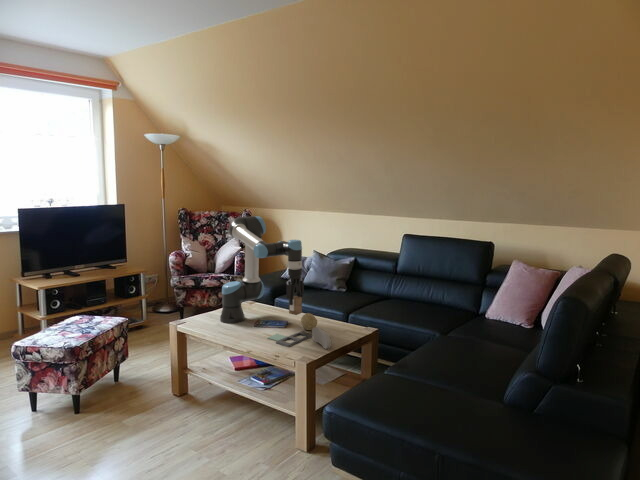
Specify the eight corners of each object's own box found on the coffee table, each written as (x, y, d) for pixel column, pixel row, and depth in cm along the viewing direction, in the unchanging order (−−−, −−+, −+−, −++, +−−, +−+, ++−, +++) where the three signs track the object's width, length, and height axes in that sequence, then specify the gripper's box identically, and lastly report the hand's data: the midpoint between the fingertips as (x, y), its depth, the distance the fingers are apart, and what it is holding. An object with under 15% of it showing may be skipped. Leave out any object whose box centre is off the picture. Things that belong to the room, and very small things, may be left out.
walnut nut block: (289, 313, 268) (288, 297, 267) (294, 311, 272) (294, 295, 271) (296, 315, 265) (296, 299, 264) (301, 312, 269) (301, 297, 268)
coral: (316, 314, 290) (318, 312, 281) (315, 331, 288) (317, 329, 278) (300, 313, 290) (301, 311, 280) (300, 330, 287) (301, 329, 277)
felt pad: (267, 338, 269) (267, 337, 269) (277, 334, 275) (277, 333, 275) (278, 341, 264) (278, 340, 264) (287, 337, 270) (287, 336, 270)
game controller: (331, 350, 251) (331, 335, 249) (327, 351, 250) (327, 335, 248) (315, 339, 268) (315, 324, 267) (311, 339, 267) (311, 325, 266)
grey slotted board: (275, 343, 261) (275, 341, 261) (301, 332, 278) (301, 330, 278) (288, 346, 256) (288, 345, 255) (313, 335, 273) (313, 333, 273)
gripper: (289, 271, 255) (290, 314, 259) (310, 266, 270) (310, 306, 273) (279, 270, 260) (279, 311, 263) (299, 264, 274) (300, 304, 277)
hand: (295, 309), depth 268 cm, fingers closed on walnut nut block, 5 cm apart
